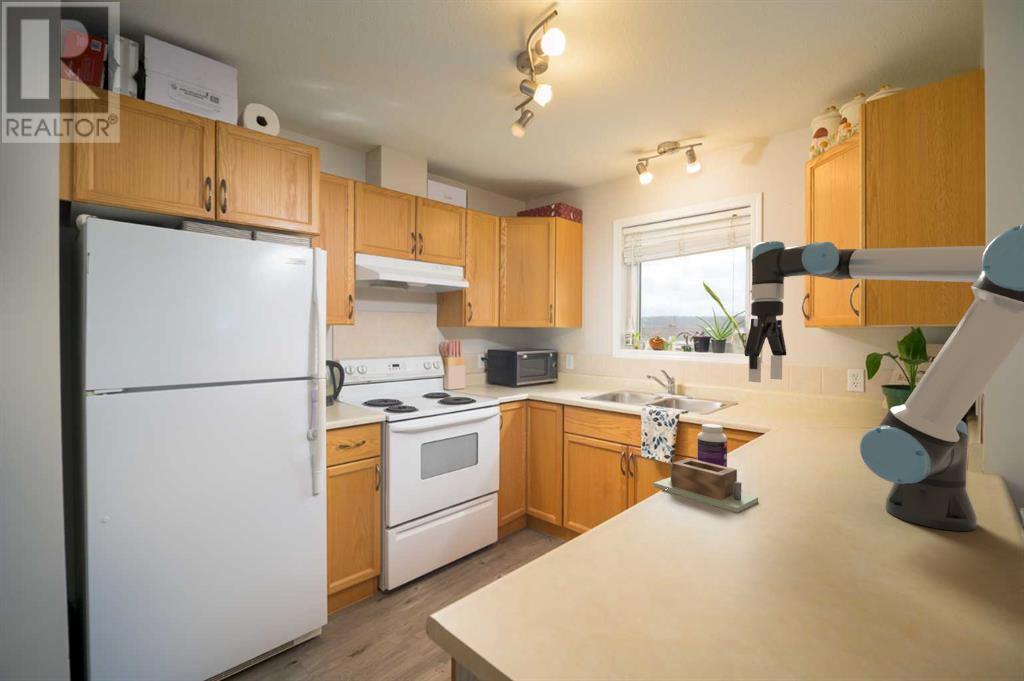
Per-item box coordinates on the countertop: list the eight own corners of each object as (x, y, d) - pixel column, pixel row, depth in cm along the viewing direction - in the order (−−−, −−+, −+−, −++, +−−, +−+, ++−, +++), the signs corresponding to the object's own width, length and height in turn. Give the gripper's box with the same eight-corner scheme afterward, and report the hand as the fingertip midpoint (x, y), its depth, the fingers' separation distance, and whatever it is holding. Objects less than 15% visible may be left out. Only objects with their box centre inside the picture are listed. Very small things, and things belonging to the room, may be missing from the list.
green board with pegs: (758, 502, 112) (758, 480, 112) (737, 512, 105) (737, 490, 105) (676, 479, 129) (676, 460, 129) (653, 487, 122) (654, 467, 122)
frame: (736, 493, 115) (736, 469, 114) (720, 500, 109) (721, 475, 109) (688, 480, 125) (688, 458, 125) (671, 486, 120) (672, 463, 119)
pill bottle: (730, 480, 129) (731, 429, 128) (699, 478, 130) (700, 427, 130) (722, 471, 137) (723, 423, 136) (694, 470, 138) (695, 422, 138)
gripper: (771, 304, 133) (770, 376, 134) (731, 299, 117) (729, 381, 118) (800, 302, 127) (799, 379, 128) (761, 297, 112) (760, 384, 112)
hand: (765, 380), depth 123 cm, fingers open, 13 cm apart
